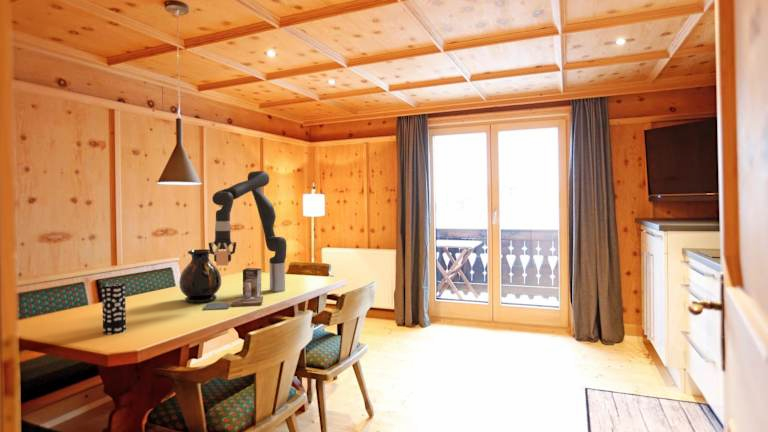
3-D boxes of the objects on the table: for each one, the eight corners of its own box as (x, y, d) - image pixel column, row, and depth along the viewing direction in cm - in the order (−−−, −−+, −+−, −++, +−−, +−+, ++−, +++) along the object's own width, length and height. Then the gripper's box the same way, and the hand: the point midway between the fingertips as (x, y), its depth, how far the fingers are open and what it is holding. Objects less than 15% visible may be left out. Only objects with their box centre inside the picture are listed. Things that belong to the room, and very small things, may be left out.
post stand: (235, 300, 244) (234, 281, 244) (263, 299, 247) (262, 280, 247) (231, 306, 229) (231, 286, 229) (261, 305, 233) (261, 285, 232)
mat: (207, 304, 234) (207, 303, 234) (230, 303, 236) (230, 302, 236) (202, 310, 222) (202, 309, 222) (227, 309, 225) (227, 307, 225)
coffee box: (242, 297, 251) (241, 269, 251) (246, 295, 258) (246, 267, 257) (257, 297, 251) (257, 269, 250) (261, 295, 257) (261, 268, 256)
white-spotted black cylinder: (109, 328, 190) (108, 283, 189) (129, 328, 191) (128, 282, 190) (98, 334, 182) (97, 286, 181) (119, 334, 183) (118, 286, 182)
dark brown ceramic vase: (221, 303, 237) (220, 251, 236) (177, 306, 230) (176, 253, 229) (221, 295, 257) (221, 247, 256) (181, 298, 250) (180, 249, 249)
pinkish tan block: (217, 264, 232) (217, 251, 232) (229, 263, 233) (229, 250, 233) (216, 265, 226) (216, 252, 226) (227, 265, 228) (227, 251, 228)
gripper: (237, 229, 235) (237, 261, 235) (209, 229, 231) (209, 261, 232) (236, 230, 227) (236, 262, 228) (207, 230, 224) (206, 263, 224)
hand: (222, 261), depth 230 cm, fingers closed on pinkish tan block, 5 cm apart
